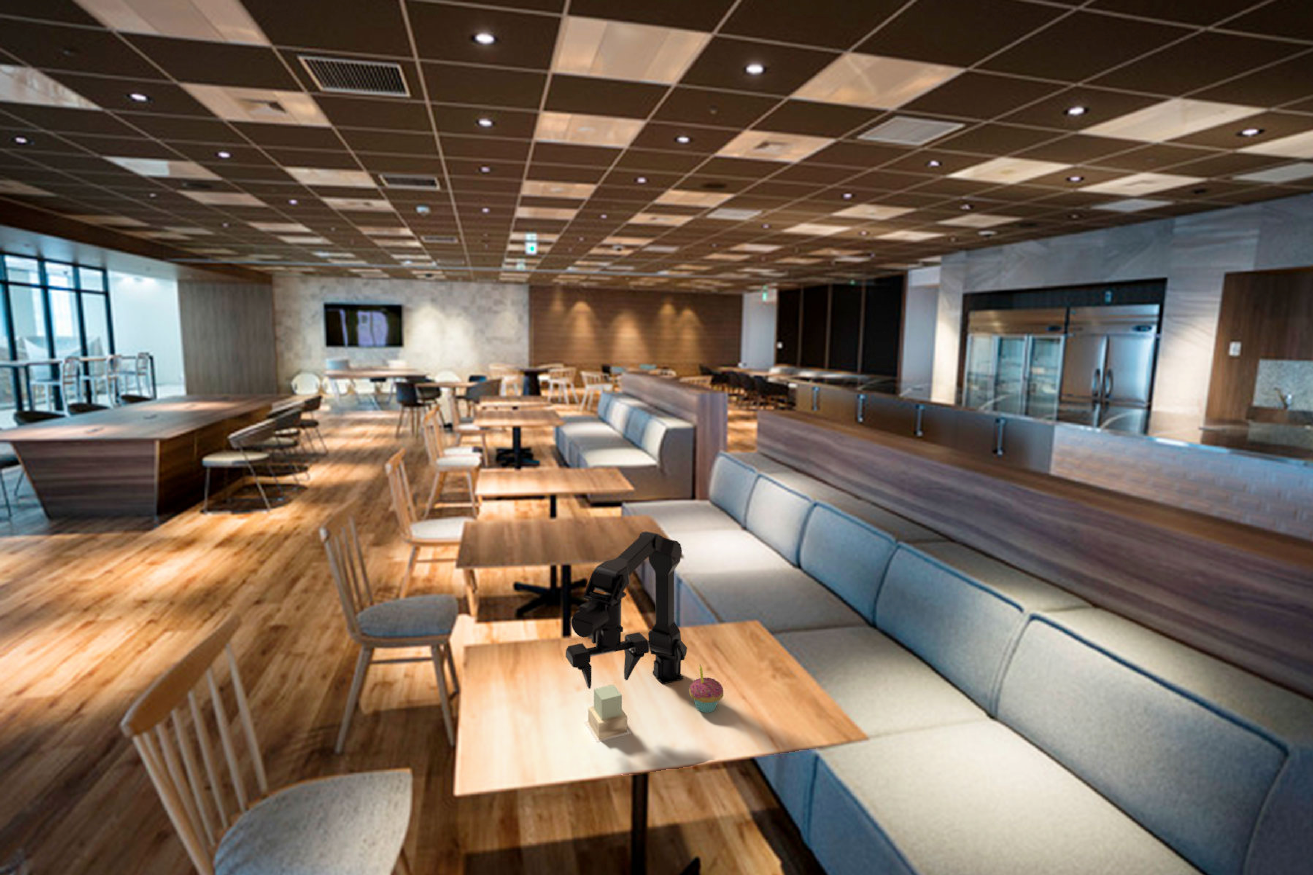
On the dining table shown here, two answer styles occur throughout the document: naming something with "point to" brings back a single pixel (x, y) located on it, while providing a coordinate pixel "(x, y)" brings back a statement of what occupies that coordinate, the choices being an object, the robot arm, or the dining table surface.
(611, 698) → the green cube
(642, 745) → the dining table surface
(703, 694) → the cupcake
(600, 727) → the maple block
